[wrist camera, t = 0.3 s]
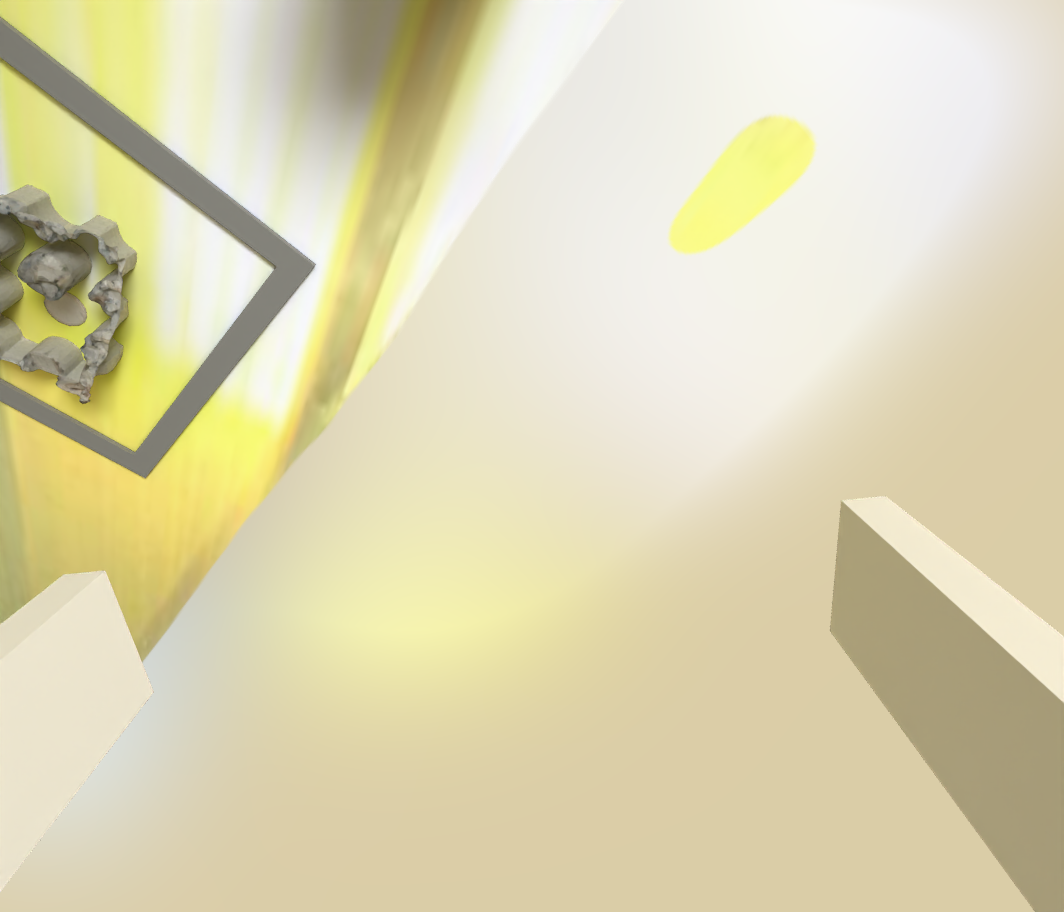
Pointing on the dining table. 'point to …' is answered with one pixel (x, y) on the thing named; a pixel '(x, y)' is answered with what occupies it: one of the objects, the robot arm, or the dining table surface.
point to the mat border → (204, 195)
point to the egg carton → (61, 290)
